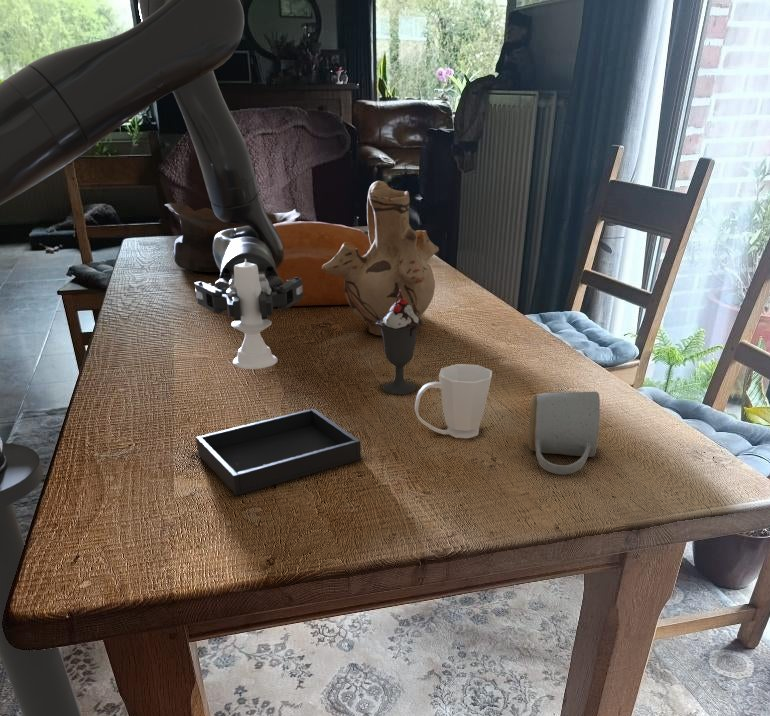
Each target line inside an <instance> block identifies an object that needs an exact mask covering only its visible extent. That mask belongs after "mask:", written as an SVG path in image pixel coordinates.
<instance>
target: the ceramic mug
mask: <svg viewBox="0 0 770 716" xmlns="http://www.w3.org/2000/svg"><path fill="white" fill-rule="evenodd" d="M600 399H601V397H600V393H599V392H598V391H577V392H576V391H575V392H574V391H573V392H568V391H567V392H542V393H538V394H534V395H533V396H532V397H530V404H529V423H528V440H527V441H528V442H527V448H529V449H530V450H531V451H533V452H535V456H536V459H537V462H538V464H539V466H540V467H541V468H542V469H543V470H545V471H547V472H549V473H551V474H554V475H561V476H562V475H563V476H565V475H571V474H575V473H576V472H578V471H580V470H581V469H582V468H583V467H584V465H585V464H586V462H587V460H588V458H593V457H595V455H596V453H597V447H598V443H599V432H600V423H601V422H600V421H601V419H600V418H601V400H600ZM543 454H551V455H553V454H554V455H562V456H563V455H564V456H574V457H580V458H579V459H577V460H576V461H574V462H573V463H570V464H567V465H563V464H555V463H552V462H550V461H549V460H547V459H546V458H545V457H544V455H543Z"/></svg>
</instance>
